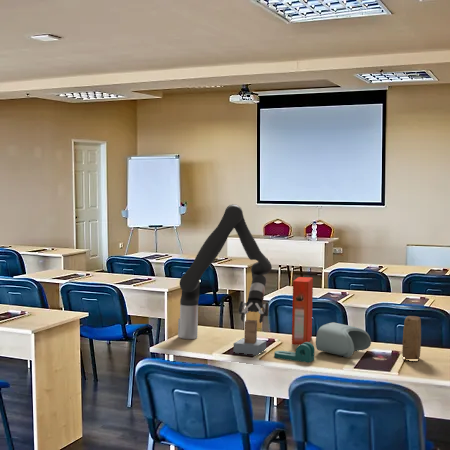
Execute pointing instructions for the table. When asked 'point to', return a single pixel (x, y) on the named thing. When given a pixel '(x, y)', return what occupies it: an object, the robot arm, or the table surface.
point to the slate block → (249, 347)
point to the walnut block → (250, 331)
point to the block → (412, 337)
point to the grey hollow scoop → (341, 339)
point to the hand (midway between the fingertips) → (251, 321)
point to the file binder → (302, 310)
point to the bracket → (298, 353)
